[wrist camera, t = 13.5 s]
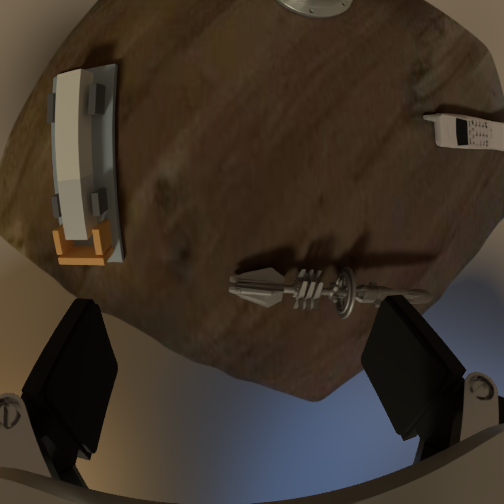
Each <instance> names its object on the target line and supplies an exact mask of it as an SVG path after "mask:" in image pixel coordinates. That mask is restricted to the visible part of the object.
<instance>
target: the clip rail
mask: <svg viewBox="0 0 504 504" xmlns="http://www.w3.org/2000/svg"><path fill="white" fill-rule="evenodd" d="M85 70H86V71H89V72H92V73H94V78H93V84H89V103H88V115H92V166H93V182H94V192H93V193H91V199H92V208H93V216H97V221H98V225H97V226H96V227H94V228H93V229H92V233H93V235H92V236H91V237H90V238H89V239H88V240H66V239H65V233H64V227H63V221H62V215H61V208H60V200H59V191H58V181H57V169H56V151H55V103H56V86H57V77H54V80H53V93H51V94H48V100H47V123H52V161H53V175H54V186H55V195H54V196H52V197H51V200H52V207H53V214H54V218H59V223H60V226H58V227H57V228H56V229H54V230H53V236H54V242H55V246H56V251H57V255H60V256H59V257H58V260H59V264H70V265H105V264H106V262H123V260H124V253H123V246H122V238H121V229H120V220H119V210H118V199H117V184H116V165H115V102H116V83H117V70H118V65H117V64H110V65H105V66H99V67H95V68H90V69H85Z"/></svg>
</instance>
